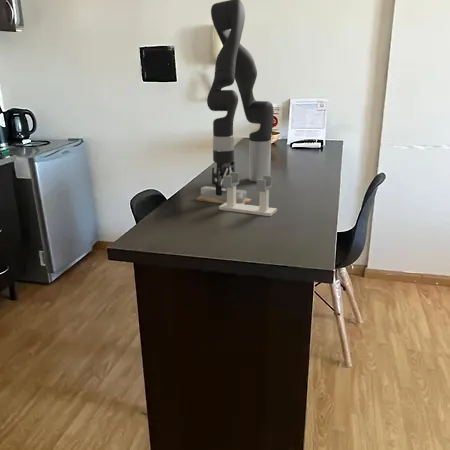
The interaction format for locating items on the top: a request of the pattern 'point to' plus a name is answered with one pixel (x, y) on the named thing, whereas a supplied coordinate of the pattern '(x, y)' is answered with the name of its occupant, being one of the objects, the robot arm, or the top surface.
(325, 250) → the top surface
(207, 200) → the mat
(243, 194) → the rail
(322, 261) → the top surface
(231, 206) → the rail stand
